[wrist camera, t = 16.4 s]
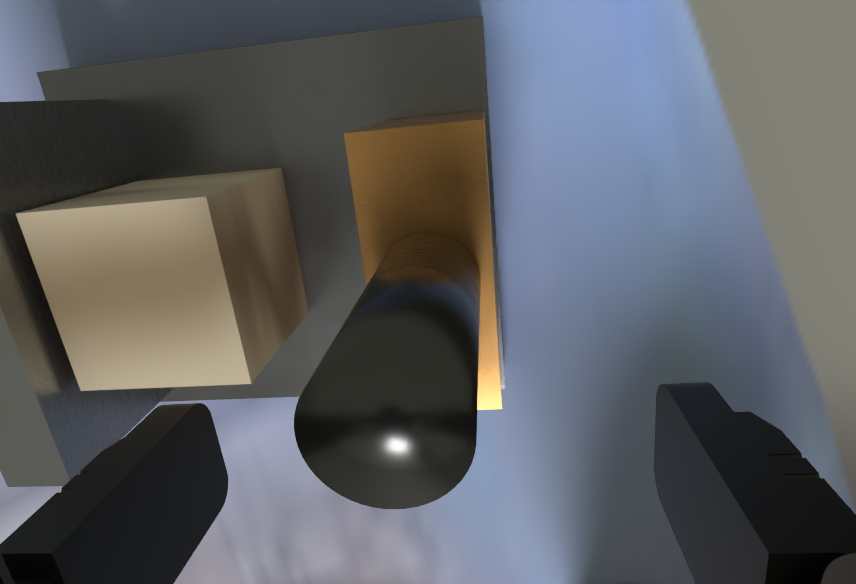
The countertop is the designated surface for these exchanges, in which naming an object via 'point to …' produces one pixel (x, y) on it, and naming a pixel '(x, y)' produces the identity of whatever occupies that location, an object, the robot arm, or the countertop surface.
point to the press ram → (410, 319)
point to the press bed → (201, 155)
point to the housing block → (171, 279)
